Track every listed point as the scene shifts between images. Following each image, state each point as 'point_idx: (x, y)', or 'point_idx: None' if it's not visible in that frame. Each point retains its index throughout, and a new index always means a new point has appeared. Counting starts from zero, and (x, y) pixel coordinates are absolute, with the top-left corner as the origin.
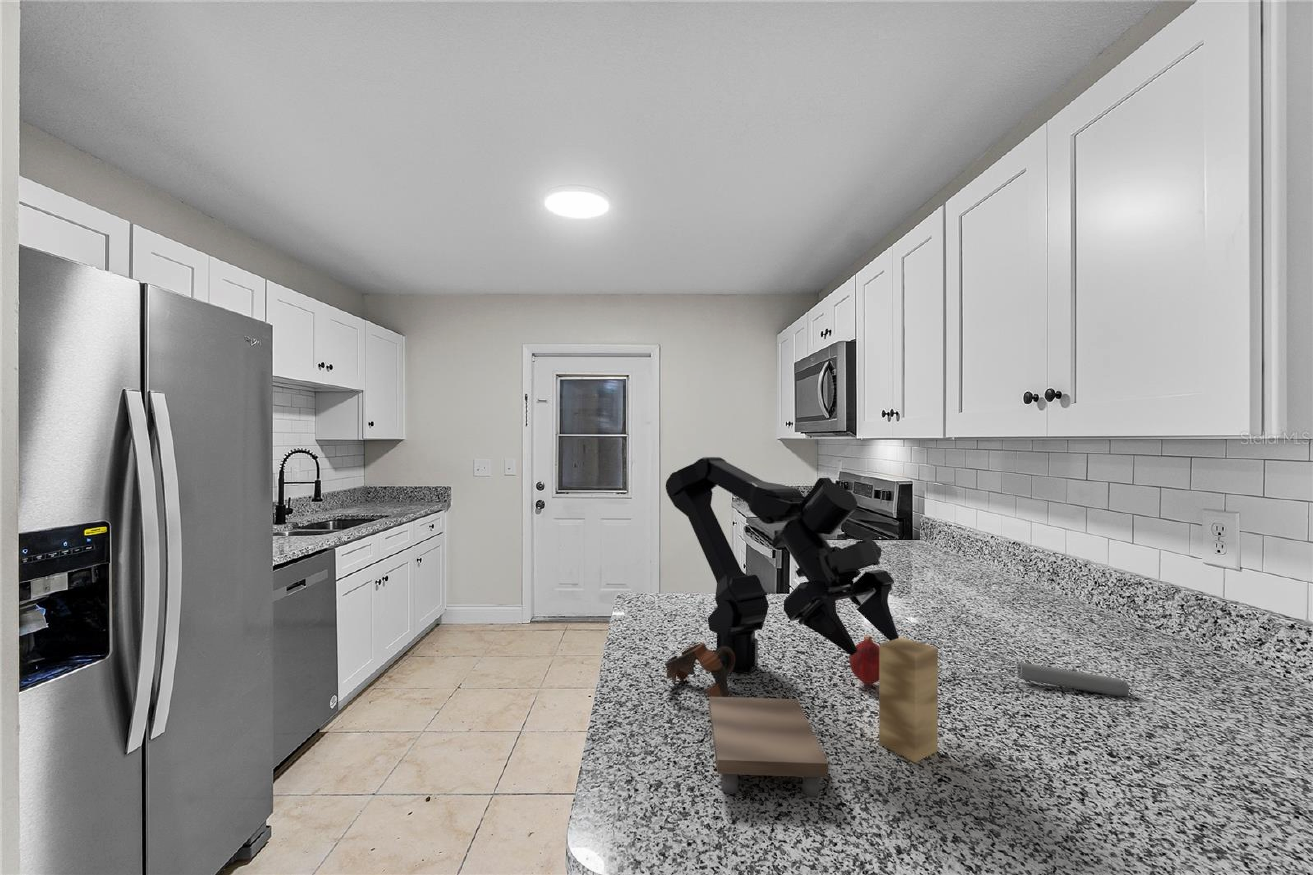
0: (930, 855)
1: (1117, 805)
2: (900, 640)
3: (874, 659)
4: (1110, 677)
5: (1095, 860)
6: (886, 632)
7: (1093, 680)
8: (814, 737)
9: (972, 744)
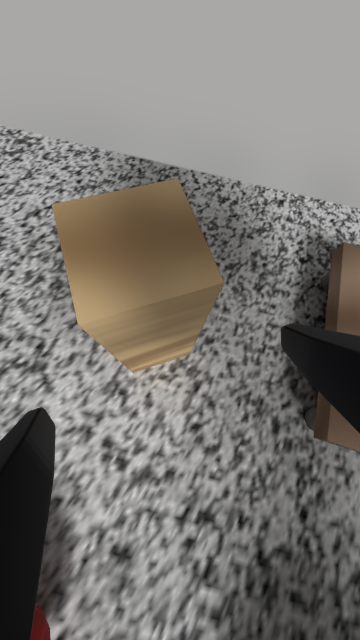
0: (258, 192)
1: (25, 193)
2: (115, 295)
3: None
4: None
5: (131, 159)
6: (41, 470)
7: None
8: (340, 300)
9: (51, 321)
